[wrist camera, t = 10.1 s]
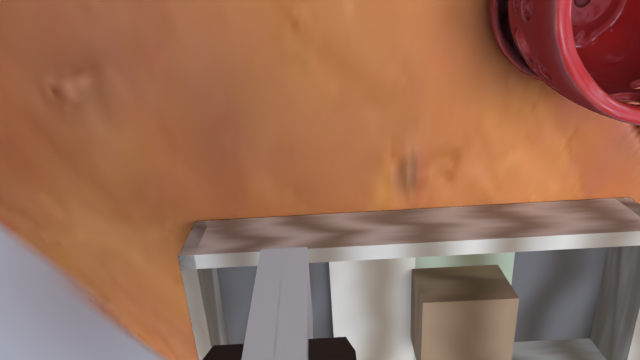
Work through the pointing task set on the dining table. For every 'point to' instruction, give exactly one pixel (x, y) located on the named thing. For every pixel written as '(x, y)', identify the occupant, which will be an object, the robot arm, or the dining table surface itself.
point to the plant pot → (576, 49)
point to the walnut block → (462, 313)
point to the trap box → (433, 252)
